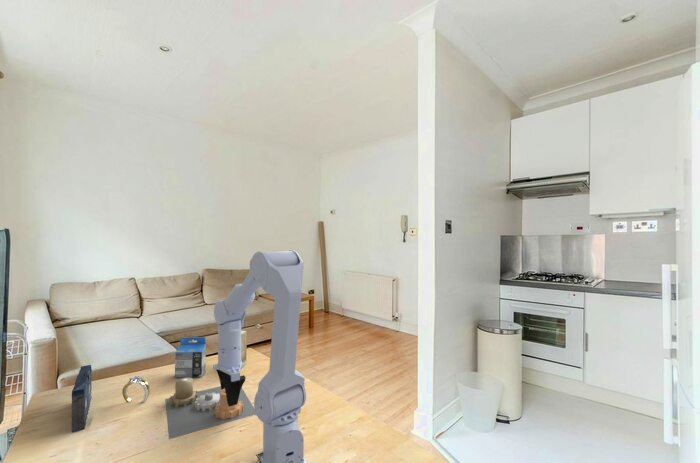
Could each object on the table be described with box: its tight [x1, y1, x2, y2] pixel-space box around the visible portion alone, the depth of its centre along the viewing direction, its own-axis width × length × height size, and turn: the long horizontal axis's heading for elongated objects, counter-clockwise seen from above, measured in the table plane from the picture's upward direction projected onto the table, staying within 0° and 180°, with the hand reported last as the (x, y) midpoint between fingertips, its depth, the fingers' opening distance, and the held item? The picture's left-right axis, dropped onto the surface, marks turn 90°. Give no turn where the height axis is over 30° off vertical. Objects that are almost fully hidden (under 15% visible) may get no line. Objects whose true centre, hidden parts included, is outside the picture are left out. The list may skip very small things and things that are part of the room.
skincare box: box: [241, 330, 248, 368], centre depth 118 cm, size 6×4×12 cm
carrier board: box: [164, 377, 256, 440], centre depth 89 cm, size 21×20×7 cm
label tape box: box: [174, 336, 207, 379], centre depth 111 cm, size 9×4×12 cm, turn 94°
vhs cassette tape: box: [71, 364, 93, 433], centre depth 87 cm, size 18×3×10 cm, turn 33°
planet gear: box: [215, 388, 243, 419], centre depth 86 cm, size 7×7×6 cm
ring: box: [121, 375, 151, 404], centre depth 91 cm, size 7×3×8 cm, turn 82°
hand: (229, 398), depth 86 cm, fingers open, 7 cm apart
